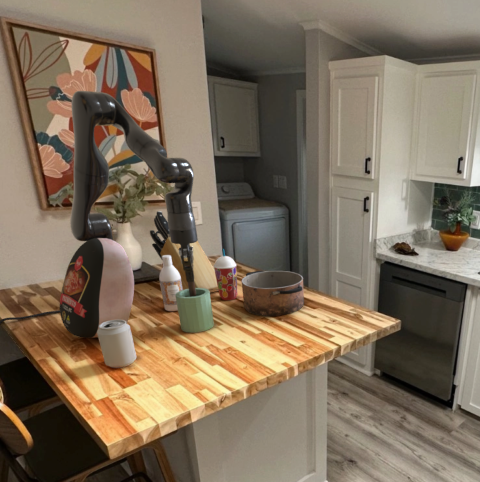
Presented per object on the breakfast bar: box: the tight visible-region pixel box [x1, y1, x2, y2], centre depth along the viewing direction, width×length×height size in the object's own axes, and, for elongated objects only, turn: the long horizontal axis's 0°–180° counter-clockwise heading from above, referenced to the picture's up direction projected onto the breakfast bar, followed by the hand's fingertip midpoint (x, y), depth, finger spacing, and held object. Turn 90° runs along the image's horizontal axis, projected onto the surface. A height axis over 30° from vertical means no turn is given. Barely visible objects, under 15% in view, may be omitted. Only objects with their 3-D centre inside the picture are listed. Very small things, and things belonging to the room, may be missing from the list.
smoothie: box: [213, 248, 239, 301], centre depth 160 cm, size 8×8×20 cm
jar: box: [175, 288, 215, 333], centre depth 135 cm, size 10×10×12 cm
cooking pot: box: [241, 270, 305, 317], centre depth 156 cm, size 30×22×11 cm
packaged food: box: [59, 238, 135, 339], centre depth 126 cm, size 22×20×30 cm
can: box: [97, 319, 137, 369], centre depth 111 cm, size 8×8×12 cm
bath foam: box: [158, 255, 183, 312], centre depth 148 cm, size 7×7×20 cm
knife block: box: [149, 210, 219, 293], centre depth 170 cm, size 11×35×31 cm, turn 54°
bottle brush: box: [186, 265, 196, 297], centre depth 133 cm, size 5×5×18 cm
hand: (190, 280), depth 132 cm, fingers closed on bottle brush
